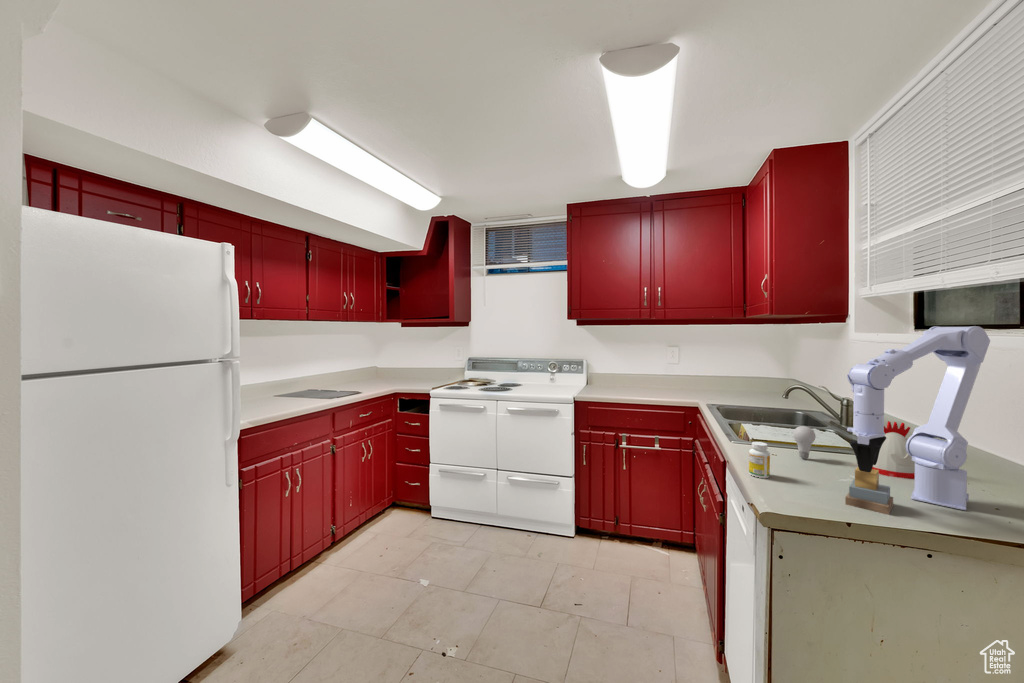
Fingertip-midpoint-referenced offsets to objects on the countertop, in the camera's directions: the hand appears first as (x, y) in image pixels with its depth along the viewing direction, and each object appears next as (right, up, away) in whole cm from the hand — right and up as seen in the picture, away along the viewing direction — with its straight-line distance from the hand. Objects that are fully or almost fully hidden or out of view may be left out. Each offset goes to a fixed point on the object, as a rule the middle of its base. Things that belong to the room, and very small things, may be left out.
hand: (867, 467), depth 103 cm
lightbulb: (+9, -8, +35) cm, 37 cm away
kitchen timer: (+27, -8, +24) cm, 37 cm away
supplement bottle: (-14, -9, +21) cm, 27 cm away
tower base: (0, -10, 0) cm, 10 cm away
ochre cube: (0, -5, 0) cm, 5 cm away
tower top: (+1, -7, 0) cm, 7 cm away
